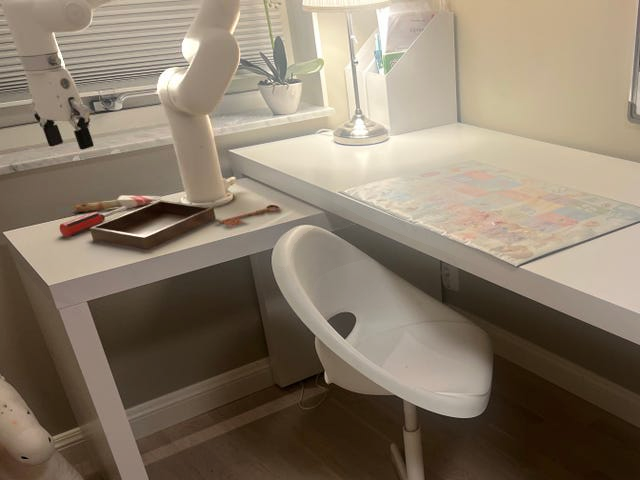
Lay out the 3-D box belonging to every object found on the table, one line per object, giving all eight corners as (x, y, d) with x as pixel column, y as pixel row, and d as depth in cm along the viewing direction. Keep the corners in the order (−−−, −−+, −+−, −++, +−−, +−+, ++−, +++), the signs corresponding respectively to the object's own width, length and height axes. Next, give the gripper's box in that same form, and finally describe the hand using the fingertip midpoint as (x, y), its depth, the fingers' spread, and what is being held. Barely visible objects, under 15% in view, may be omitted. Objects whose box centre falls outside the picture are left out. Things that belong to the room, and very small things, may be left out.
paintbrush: (158, 194, 180) (72, 205, 177) (161, 205, 181) (76, 216, 178) (160, 189, 183) (76, 200, 180) (164, 200, 184) (80, 211, 181)
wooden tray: (164, 212, 177) (160, 199, 175) (216, 220, 171) (213, 207, 169) (93, 241, 161) (89, 227, 159) (148, 251, 155) (144, 237, 153)
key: (227, 229, 166) (286, 213, 174) (226, 226, 165) (286, 210, 174) (216, 221, 170) (275, 206, 178) (215, 217, 169) (274, 202, 177)
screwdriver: (123, 214, 178) (118, 201, 176) (132, 214, 176) (127, 201, 175) (63, 238, 164) (57, 224, 163) (72, 237, 163) (66, 224, 161)
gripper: (87, 60, 149) (113, 144, 158) (31, 58, 156) (59, 139, 165) (55, 67, 144) (84, 154, 153) (-2, 65, 150) (30, 148, 159)
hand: (71, 146), depth 159 cm, fingers open, 9 cm apart
